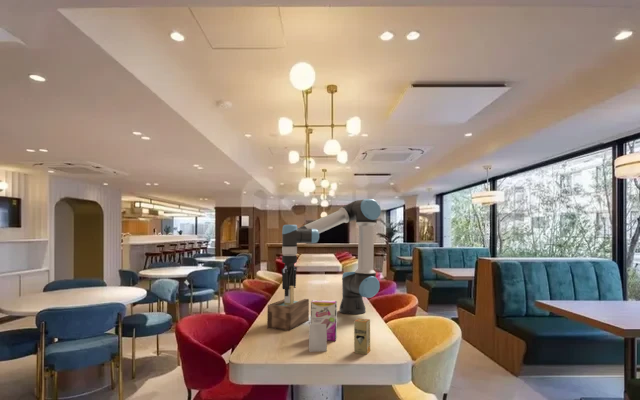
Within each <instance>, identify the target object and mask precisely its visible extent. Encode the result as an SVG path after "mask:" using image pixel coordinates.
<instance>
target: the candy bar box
mask: <svg viewBox="0 0 640 400" xmlns="http://www.w3.org/2000/svg"><path fill="white" fill-rule="evenodd" d="M337 318H338V301H337V300H327V299H326V300H325V299H324V300H323V299H312V300H311V301H310V324H326V329H327V342H336V341H337V338H338V336H337V333H338V332H337V329H338V327H337V325H338V323H337V322H338V319H337Z"/></svg>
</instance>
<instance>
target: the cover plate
mask: <svg viewBox="0 0 640 400" xmlns="http://www.w3.org/2000/svg"><path fill="white" fill-rule="evenodd" d="M289 289H290V303H285V294H283V295H284V303H282V304H280V305H279V306H288V305H290V304H293V303H295V302H298V300H294V299H295V296H294V295H295V291H294V290H295V288H294V286H289Z"/></svg>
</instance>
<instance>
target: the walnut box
mask: <svg viewBox="0 0 640 400" xmlns="http://www.w3.org/2000/svg"><path fill="white" fill-rule="evenodd" d="M297 301H298V300H297ZM282 303H284V299H280V300H278V301H275V302H273V303H270V304H267V316H266V317H267V318H266V319H267V321H266V322H267V323H266V324H267V329H269V330H280V331H293V330H294V329H296V328H297V327H299V326H301V325H304V324H305V323H306V322H308V321H309V320H310V318H309V317H310V316H309V314H310V313H309V312H310V309H309V308H310V305H309V304H310V300H309V298H303V299H301V300H299V301H298V302H295V303H293V304H290V305H288V306H279V305H280V304H282Z"/></svg>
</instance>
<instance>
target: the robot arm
mask: <svg viewBox="0 0 640 400" xmlns="http://www.w3.org/2000/svg"><path fill="white" fill-rule="evenodd" d="M381 209H382V208H381V205H380V204H379V203H378V201H377V200H375V199H372V198H364V199H356V200H354V201H352V202H349V203H348V204H346V205H344V206H342V207H339V209H338V210H337V211H335V212H331V213H330V214H328V215H326V216H323V217H321V218H318V219H316V220H314V221H310V222H309V223H307V224H305V225H303V226H299V227H298V225H297V224H284V225H282V230H281V231H282V232H281V235H282V236H281V237H282V238H281V240H282V241H281V243H282V244H281V245H282V246H281V247H282V248H281V252H282V253H281V254H282V255H281V262H282V263H283V264H284V267H283V268H281V278H282V279H281V281H282V282H281V284H282V285H281V287H282V290H284V295H285V303H290V289H289V286H294V289H295V288H296V285H297V268H298V267H297V266H295V264H296V263H297V262H298V256H297V255H298V244H315V243H318V242H319V240H320V234H321V233H324V232H325V231H328V230H330V229H332V228H334V227H337V226H339V225H341V224H344V223H345V224H348V223H350V222H355V223H356V225H357V226H358V236H357V237H358V240H357V241H358V245H357V247H358V248H357V269H356V270H355V271H345V272H343V273H342V277H341V278H342V279H341V280H342V285H341V287H342V289H341V290H342V293H341V294H342V298H341V302H340V305H339V312H340V313H342V314H346V315H360V314H365V313H366V305H365V302H364V299H363V298H368V299H370V298H373V297H374V296H376V295H378V293H379V291H380V286H381V285H380V281H379V279H378V278H377V272H376V271H375V270H374V255H375V254H374V252H375V251H374V247H375V243H374V242H375V239H374V238H375V226H376V225H377V222H378V221H377V220H378V219H379V217H380V216H381V213H382V211H381Z"/></svg>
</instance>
